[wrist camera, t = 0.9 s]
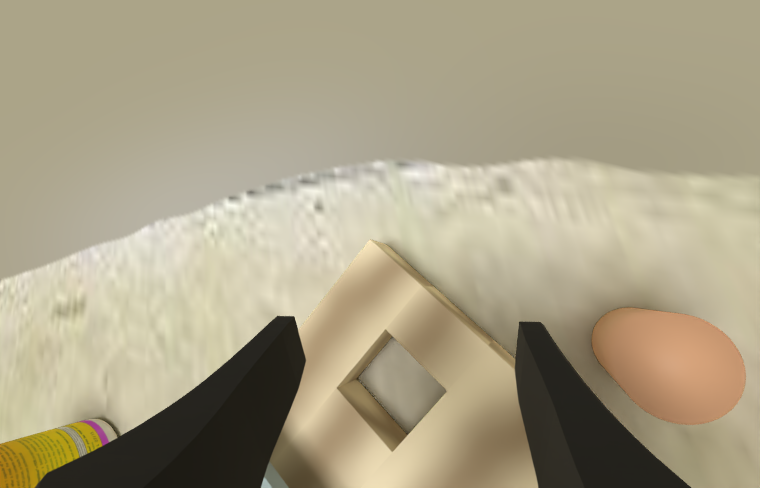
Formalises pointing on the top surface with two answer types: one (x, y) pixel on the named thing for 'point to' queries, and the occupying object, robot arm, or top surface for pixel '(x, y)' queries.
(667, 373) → the peg
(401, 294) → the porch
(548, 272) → the top surface
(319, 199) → the top surface
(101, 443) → the supplement bottle
